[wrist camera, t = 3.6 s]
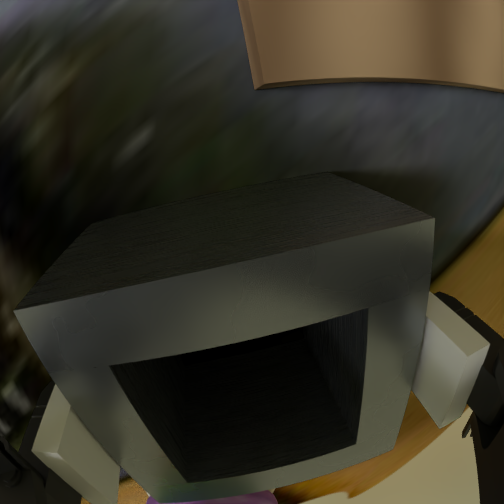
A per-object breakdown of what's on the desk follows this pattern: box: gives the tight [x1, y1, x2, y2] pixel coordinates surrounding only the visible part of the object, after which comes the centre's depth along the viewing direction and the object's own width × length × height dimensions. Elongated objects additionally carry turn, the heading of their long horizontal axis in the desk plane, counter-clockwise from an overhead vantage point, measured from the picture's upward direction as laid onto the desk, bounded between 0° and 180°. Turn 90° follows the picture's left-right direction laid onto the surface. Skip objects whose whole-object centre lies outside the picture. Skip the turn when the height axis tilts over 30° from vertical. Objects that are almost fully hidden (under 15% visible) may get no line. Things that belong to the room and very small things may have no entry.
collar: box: [14, 172, 435, 504], centre depth 9 cm, size 8×8×6 cm
